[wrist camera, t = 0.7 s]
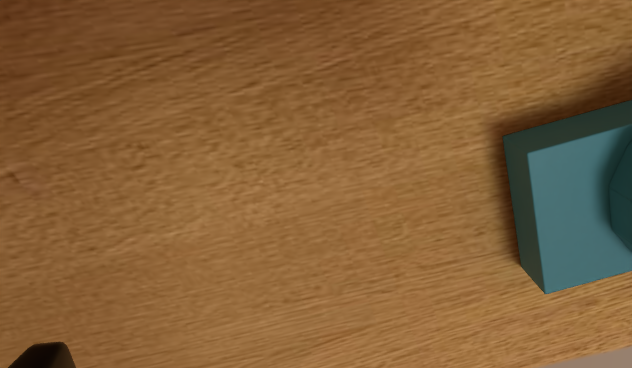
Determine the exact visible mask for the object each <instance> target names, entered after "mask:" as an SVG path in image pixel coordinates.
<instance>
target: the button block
mask: <svg viewBox="0 0 632 368" xmlns="http://www.w3.org/2000/svg"><path fill="white" fill-rule="evenodd" d="M503 143H504V150H505V157H506V164H507V171H508V178H509V185H510V192H511V199H512V206H513V212H514V219H515V226H516V233H517V240H518V247H519V254H520V261H521V267H522V268H523V269H524V270H525V272H526V273H527V274H528V275H529V276H530V277H531V278H532V280H533V281H534V282H535V283H536V284H537V285H538V287H539V288H540V289H541V290H542V291H543V292H544V293H545V294H549V293H552V292H556V291H560V290H563V289H567V288H571V287H574V286H578V285H581V284H585V283H589V282H592V281H596V280H600V279H603V278H607V277H610V276H614V275H618V274H621V273H625V272H629V271H632V100H630V101H626V102H623V103H619V104H616V105H612V106H608V107H605V108H601V109H598V110H594V111H591V112H587V113H583V114H580V115H576V116H573V117H569V118H566V119H562V120H558V121H555V122H551V123H548V124H544V125H541V126H537V127H533V128H530V129H526V130H523V131H519V132H516V133H512V134H508V135H505V136H503Z"/></svg>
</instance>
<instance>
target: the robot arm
mask: <svg viewBox="0 0 632 368" xmlns="http://www.w3.org/2000/svg"><path fill="white" fill-rule="evenodd" d="M8 368H76V367H75V364H74V361H73V359H72V356H71V354H70V351H69V349H68V347H67V345H66V344H65V343H63V342H51V343H40V344H35V345H32V346H31V347H29V348H28V349H27V350H26V351H25V352H23V353H22V354H21V355H20V356H19V357H18V358H17V359H16V360H15V361H14V362H13V363H12V364H11V365H10V366H9V367H8Z"/></svg>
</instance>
